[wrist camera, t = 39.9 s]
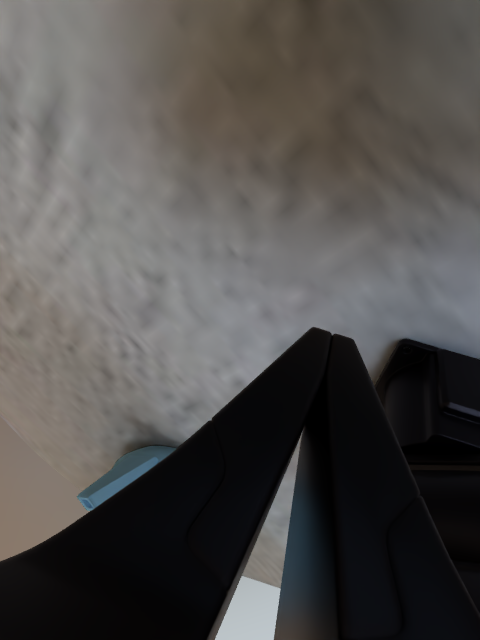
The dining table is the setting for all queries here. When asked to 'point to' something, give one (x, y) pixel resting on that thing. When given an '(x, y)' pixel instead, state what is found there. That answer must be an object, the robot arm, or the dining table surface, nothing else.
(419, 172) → the dining table surface
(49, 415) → the dining table surface
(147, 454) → the teapot
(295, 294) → the dining table surface
